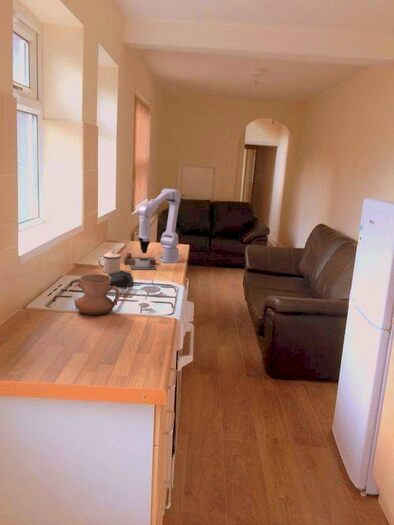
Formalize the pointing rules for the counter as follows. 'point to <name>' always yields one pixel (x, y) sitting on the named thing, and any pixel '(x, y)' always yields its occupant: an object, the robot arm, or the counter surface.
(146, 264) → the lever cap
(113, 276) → the dark slate chunk
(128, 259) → the body
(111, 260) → the teacup with lid
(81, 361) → the counter surface
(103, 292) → the ceramic jug
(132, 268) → the rubber mat
